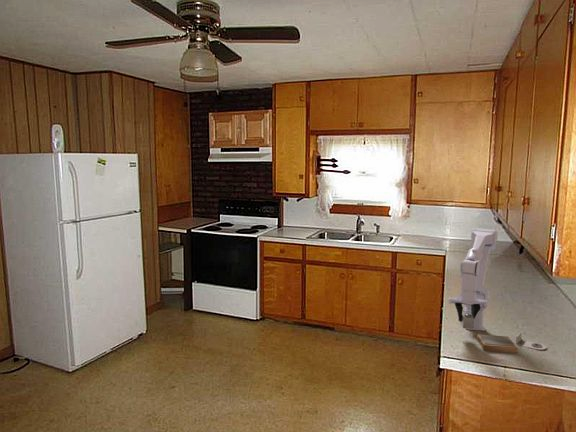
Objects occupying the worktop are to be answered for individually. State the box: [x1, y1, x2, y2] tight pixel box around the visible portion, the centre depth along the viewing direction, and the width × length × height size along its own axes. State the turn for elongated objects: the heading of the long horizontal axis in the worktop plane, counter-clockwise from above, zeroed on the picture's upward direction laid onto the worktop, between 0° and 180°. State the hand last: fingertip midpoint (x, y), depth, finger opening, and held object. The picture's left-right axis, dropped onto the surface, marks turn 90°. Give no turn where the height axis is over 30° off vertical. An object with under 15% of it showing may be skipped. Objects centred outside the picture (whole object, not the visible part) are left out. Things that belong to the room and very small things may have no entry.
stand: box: [476, 333, 519, 354], centre depth 163 cm, size 10×12×2 cm
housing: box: [457, 310, 474, 330], centre depth 168 cm, size 8×4×5 cm, turn 170°
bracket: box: [515, 331, 547, 351], centre depth 164 cm, size 7×10×4 cm, turn 47°
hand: (465, 321), depth 168 cm, fingers closed on housing, 4 cm apart
